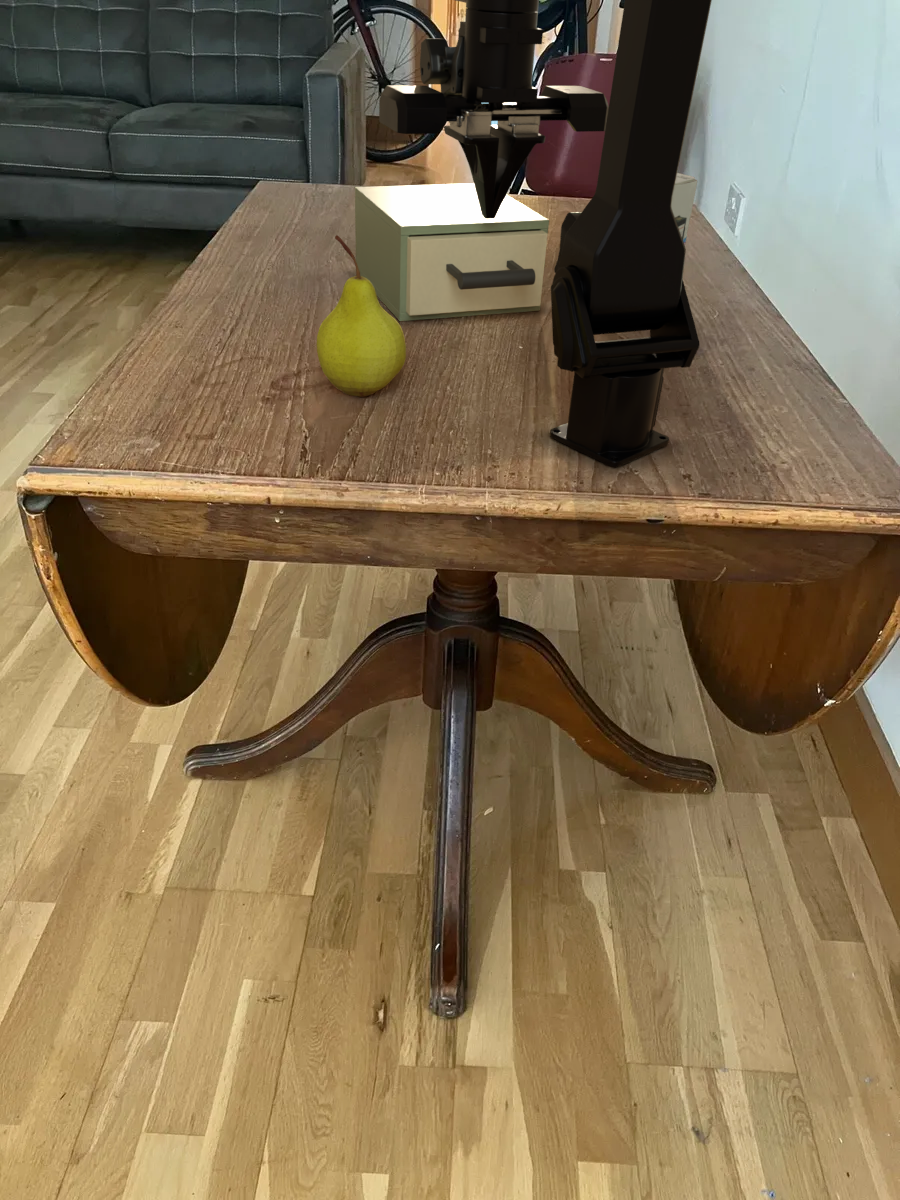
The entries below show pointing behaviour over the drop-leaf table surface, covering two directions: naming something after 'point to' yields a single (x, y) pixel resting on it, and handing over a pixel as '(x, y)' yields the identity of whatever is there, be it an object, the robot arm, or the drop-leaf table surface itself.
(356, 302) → the fruit
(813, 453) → the drop-leaf table surface
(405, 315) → the cabinet
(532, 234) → the drawer
